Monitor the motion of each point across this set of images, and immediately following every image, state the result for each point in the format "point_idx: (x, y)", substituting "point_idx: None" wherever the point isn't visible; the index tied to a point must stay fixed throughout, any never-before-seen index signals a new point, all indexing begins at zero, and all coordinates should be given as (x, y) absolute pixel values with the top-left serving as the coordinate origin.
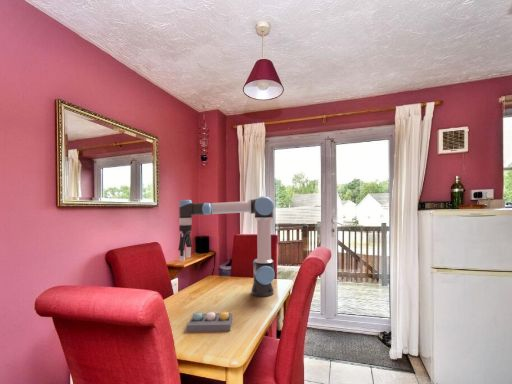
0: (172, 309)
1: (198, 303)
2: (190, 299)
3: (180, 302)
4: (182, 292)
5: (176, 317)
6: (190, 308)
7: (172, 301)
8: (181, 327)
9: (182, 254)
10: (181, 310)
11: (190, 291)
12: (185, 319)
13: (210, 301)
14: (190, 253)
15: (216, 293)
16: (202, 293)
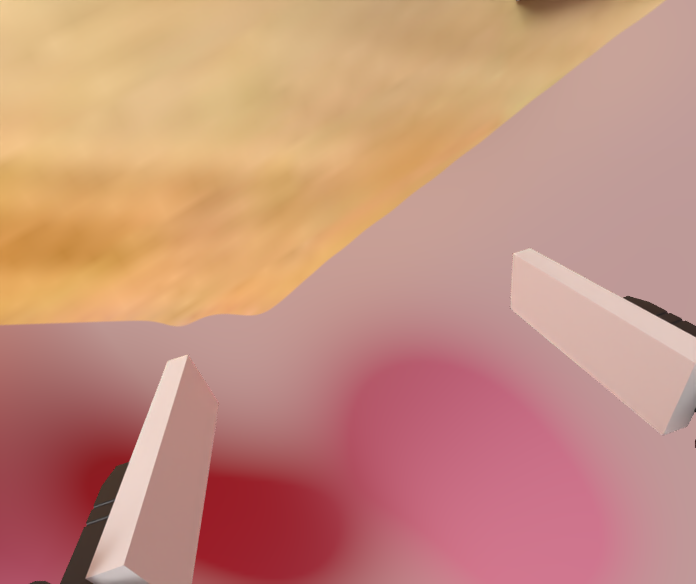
0: (387, 207)
1: (274, 105)
2: (226, 196)
3: (289, 225)
4: (133, 311)
5: (478, 127)
6: (361, 115)
7: (287, 273)
8: (587, 31)
9: (661, 314)
10: (394, 152)
11: (88, 279)
12: (503, 61)
13: (210, 25)
14: (157, 411)
15: (6, 54)
16: (78, 178)
